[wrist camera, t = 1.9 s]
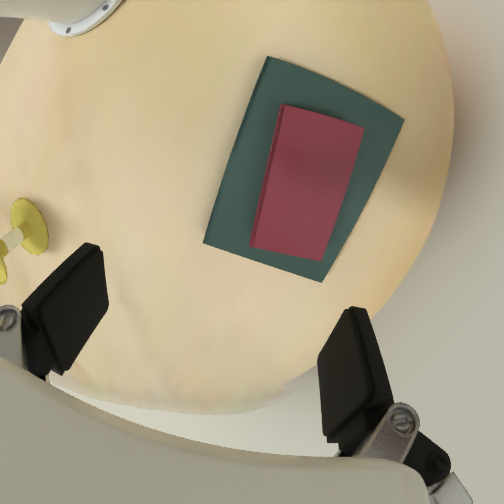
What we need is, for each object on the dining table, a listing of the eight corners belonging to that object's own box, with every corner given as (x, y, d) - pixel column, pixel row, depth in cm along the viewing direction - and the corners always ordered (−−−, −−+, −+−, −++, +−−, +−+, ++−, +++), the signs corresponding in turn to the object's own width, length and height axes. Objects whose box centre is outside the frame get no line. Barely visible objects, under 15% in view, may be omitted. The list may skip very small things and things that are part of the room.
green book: (267, 59, 21) (267, 55, 19) (396, 118, 22) (404, 119, 21) (206, 234, 31) (202, 243, 29) (319, 273, 32) (321, 282, 31)
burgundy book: (280, 104, 21) (281, 103, 19) (354, 125, 22) (364, 128, 19) (251, 232, 28) (248, 246, 25) (317, 246, 28) (321, 261, 26)
